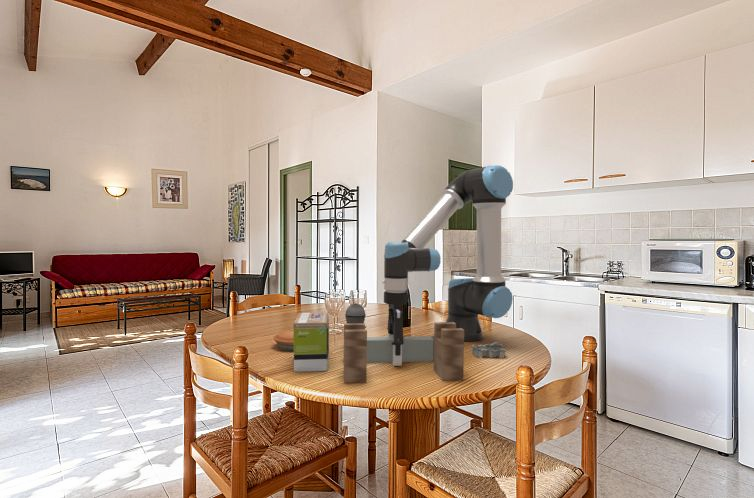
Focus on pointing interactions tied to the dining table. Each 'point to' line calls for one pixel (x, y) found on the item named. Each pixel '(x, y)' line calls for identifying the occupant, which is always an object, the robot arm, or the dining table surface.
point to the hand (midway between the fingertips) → (394, 359)
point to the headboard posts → (445, 351)
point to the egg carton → (489, 350)
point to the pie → (285, 340)
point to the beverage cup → (355, 313)
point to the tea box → (311, 342)
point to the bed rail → (411, 349)
